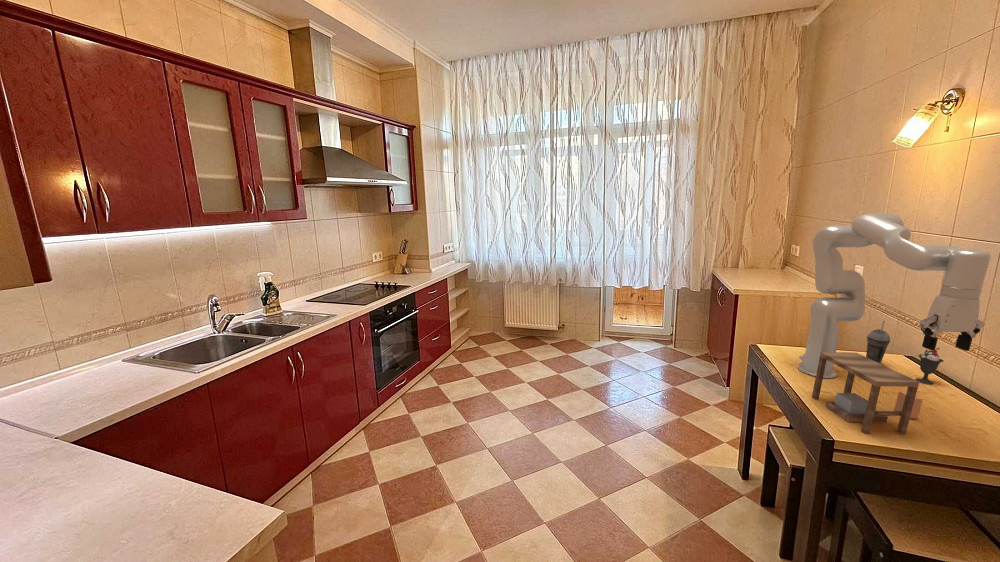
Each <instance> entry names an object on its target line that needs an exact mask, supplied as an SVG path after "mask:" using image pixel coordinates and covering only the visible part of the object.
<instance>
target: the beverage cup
mask: <svg viewBox="0 0 1000 562" xmlns="http://www.w3.org/2000/svg"><path fill="white" fill-rule="evenodd" d="M885 322H886V321H885V320H883V321H882V323H881V328H880V329H873V330H871V331H870V332H869V333H868V334H867V337H866V341H867V344H866V355H865V357H867V358H869V359H871V360H873V361H875V362H878V363H880V364H882V362H883V359H884V356H885V354H886V350H887V348H888V346H889V344H890V342H891V336H890V334H889V333H888V332H887V331H885V330H883V328H884V326H885Z"/></svg>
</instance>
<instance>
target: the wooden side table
mask: <svg viewBox="0 0 1000 562" xmlns="http://www.w3.org/2000/svg"><path fill="white" fill-rule="evenodd" d="M826 360H828V361H830V362H831V363H833V364H834V365H835V366H837V367H839V368H841V369H843V370H844V371H846V372H847V376H846V381H845V384H844V388H843V393H852V391H853V387H854V381H855V377H858V378H859V379H862V380H863V381H865V382H867V383H869V384H871V385H870V391H869V395H868V403H867V407H866V412H865V415H848V414H847V413H845V412H843V411H842V410H840V409H839V408H837V407H836V406H834V404H835V401H826V402H825V405H824V406H825V408H827V410H829V411H831V412H832V413H833V414H834V415H836V416H838V417H839V418H841V419H842V420H844V421H846V422H847V423H862V425H861V429H860V431H861V433H863V434H864V435H865V434H866V435H870V434H871V430H872V425H873V423H888V420H889V417H888V416H887V415H886V414H874V413H875V411H876V408H877V403H878V400H879V395H880V391H881V387H899V388H900V387H907V388H906V392H907V393H906V397H905V401H904V405H903V409H902V413H901V414H900V416H899V421H898V426H897V429H896V432H897V433H898V432H899V433H898V434H900V435H906V434H907V431H908V426H909V422H910V419H911V418H910V415H911V412H912V408H913V404H914V400H915V396H917V392H918V388H919V384H920V382H918V381H916V379H913V378H911V377H909V376H907V375H906V374H903V373H901V372H898V371H897V370H895V369H892V368H891V367H888V366H886V365H884V364H882V363H881V364H880V363H878V362H875V361H873V360H871V359H869V358H867V357H866V355H862V354H860V353H858V352H849V351H847V352H843V351H842V352H840V351H839V352H838V351H836V352H820V358H819V363H818V368H817V373H816V377H815V379H814V384H813V390H812V395H811V398H812V399H813V400H819V398H820V394H821V389H822V384H823V380H824V378H823V375H824V370H825V365H826Z"/></svg>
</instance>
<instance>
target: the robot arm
mask: <svg viewBox="0 0 1000 562" xmlns="http://www.w3.org/2000/svg"><path fill="white" fill-rule="evenodd" d="M911 236H912V232H911V230H910V229H909V228H908V227H906V226H905V223H904V221H903V219H902V218H901V217H900V216H899V215H898V214H893V213H875V212H874V213H873V212H872V213H865V214H861V215H859V216H856V217H855V218H854V219H853V220H852V222H851V224H850V225H849V224H848V225H847V224H836V225H834V224H833V225H827V226H824V227H821V228H820V229H818V231H817V232H816V233H815V234H814V236H813V239H812V250H813V254H814V263H815V264H814V270H815V271H814V273H815V274H814V277H815V278H814V279H815V280H814V282H815V284H814V285H815V288H816V290H817V291H818V292H819V293H820V294H821V293H822V294H826V295H831V294H832V295H840V297H837V296H836V297H835V296H832V297H830V296H829V297H819V298H817V299H815V300H813V301H812V302H811V303H810V309H809V312H810V323H809V330H808V331H809V332H808V337H807V342H806V346H805V352H804V354H802V355H799V357H798V359H800V360H801V363H798V364H797V369H798V370H799V371H800V372H802V373H803V374H806V375H808V374H809V375H808V376H811V375H812V376H811V377H815V376H816V373H817V368H818V363H819V358H820V352H837V349H838V346H839V345H838V344H839V340H840V335H841V334H840V329H839V327H838V325H837V322H838V323H839V322H855V321H859V320H861V318H863V316H864V314H865V309H866V305H865V304H866V298H865V297H866V283H865V280H864V277H863V275H862V274H861V273H860V272H858V271H856V270H851V269H844V265H843V262H844V260H843V257H842V255H841V252H840V251H839V250H838V248H865V247H869V246H872V245H876V246H878V247H881V248H882V249H883V252H884V255H885V256H886V257H887V258H888V259H889V260H891V262H894V263H895V264H898V265H900V266H901V267H904V268H906V269H908V270H912V271H918V272H919V271H920V272H921V271H923V272H924V271H925V272H926V271H928V272H929V271H935V272H940V271H943V272H944V271H945V272H944V276H943V280H942V284H941V288H940V292H939V295H936V296H935V298H934V299H933V301H932V303H931V305H930V308H929V311H928V314H927V316H926V318H923V319H922V320H920V321H919V326H920V330H921V331H922V334H923V335H924V336H923V337H924V338H923V340H922V345H921V346H922V348H924V349H926V350H928V351H933V350H936V349H937V343H938V340H939V339H938V337H937V336H938V335H940V334H941V333H942V332H944V333H945V332H946V333H947V332H949V333H952V332H953V333H960V334H958V335H957V338H956V342H955V348H957V349H960V350H962V351H965V352H966V351H967V352H968V351H970V348H971V345H972V342H973V339H974V338H976V336H977V334H979V333H980V332H981V329H982V328H983V327H984V325H986V324H985V322H984V321H982V320H980V319H979V314H980V305H981V304H980V303H981V301H980V298H981V293H982V290H983V285H984V282H985V278H986V275H987V271H988V268H989V265H990V261H991V254H990V253H989V252H987V251H985V250H977V249H967V248H962V247H958V246H954V245H919V244H917V243H914V242H911V241H910V240H911ZM834 365H835V364H833V363H831V362H830V361H828V360H826V365H825V370H824V375H823V379H834V377H835V378H836V377H837V375H838V374H837V371H835V370H834V369H833V368H834Z"/></svg>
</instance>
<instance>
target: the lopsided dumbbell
mask: <svg viewBox="0 0 1000 562" xmlns="http://www.w3.org/2000/svg"><path fill="white" fill-rule="evenodd" d="M906 393H907V391H898V394H897V397H896V402H895V405H894V408H893V410H891V411H890V410H887V411H885V410H875V413H874V415H886V414H888V415H892V414H893V415H898V414H899V415H901V413H902V409H903V405H904V401H905V397H906ZM923 400H924V399H923V398H922V397H920V396H917V395H916V396H915V400H914V404H913V408H912V412H911V415H910V419H918V418H919V415H920V412H921V408H922V404H923ZM834 402H835V404H834V406H836V407H837V408H839V409H840V410H842V411H843V412H845V413H847V414H848V415H865V412H866V407H867V403H868V400H867V399H866V398H865V397H862V396H861V395H859V394H857V393H855V392H851V393H844V392H836V395H835V400H834Z"/></svg>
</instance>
